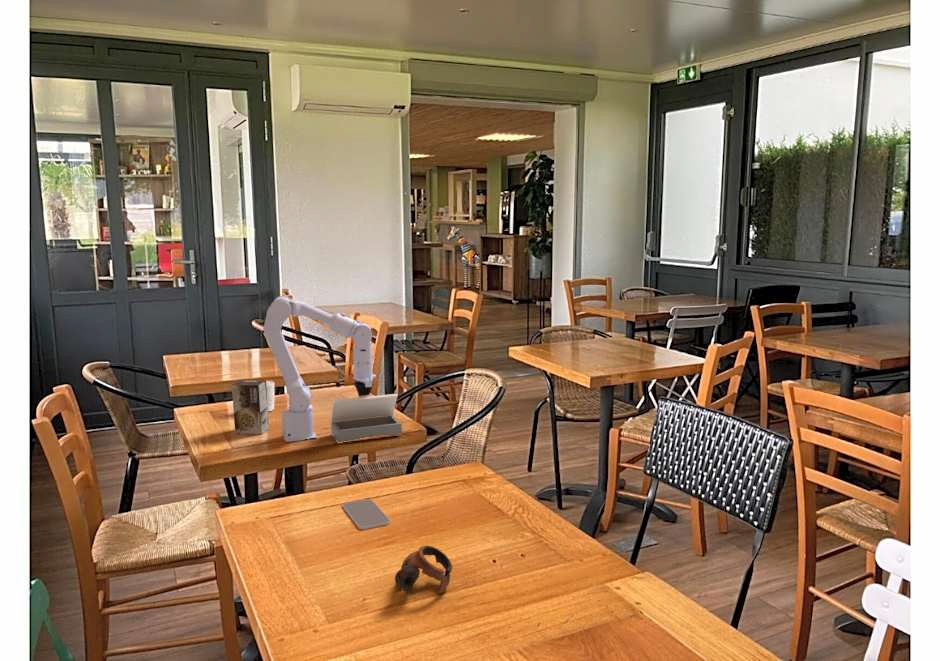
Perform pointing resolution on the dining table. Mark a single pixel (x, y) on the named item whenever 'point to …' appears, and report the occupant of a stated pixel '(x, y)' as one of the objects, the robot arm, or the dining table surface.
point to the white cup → (270, 395)
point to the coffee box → (250, 406)
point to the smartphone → (366, 514)
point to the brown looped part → (417, 560)
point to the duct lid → (363, 407)
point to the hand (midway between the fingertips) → (364, 404)
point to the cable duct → (365, 428)
